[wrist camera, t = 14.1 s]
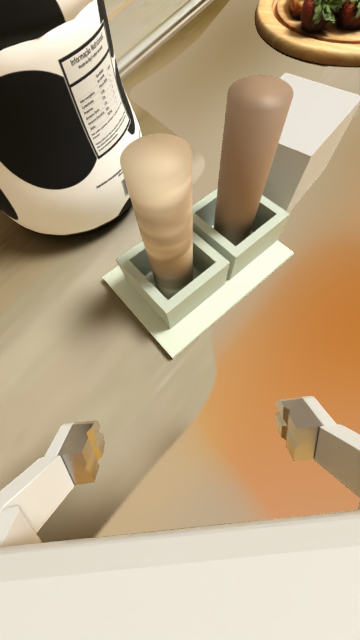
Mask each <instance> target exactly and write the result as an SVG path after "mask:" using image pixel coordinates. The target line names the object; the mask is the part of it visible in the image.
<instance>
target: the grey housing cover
mask: <svg viewBox="0 0 360 640" xmlns="http://www.w3.org/2000/svg"><path fill="white" fill-rule="evenodd" d="M280 79H282V80H284V81H286V82H287V83H288V84H289V85H290V86H291V87H292V89H293V93H294V94H293V98H292V102H291V105H290V108H289V111H288V114H287V118H286V121H285V124H284V127H283V130H282V133H281V137H280V140H279V143H278V146H277V149H276V152H275V156H274V159H273V162H272V165H271V168H270V172H269V175H268V178H267V181H266V184H265V187H264V191H263V194H262V195H263V196H264V197H266V198H267V199H269V200H270V201H272V202H273V203H275V204H276V205H278V206H279V207H281V208H282V209H284V210H285V211H287V212H288V213H289V212H290V211H291V209H292V208H293V207H294V206H295V205H296V203H297V202H298V201H299V199H300V198H301V197H302V196H303V195H304V193H305V192H306V191H307V190H308V189H309V188H310V186H311V185H312V184H313V182H314V181H315V180H316V179H317V178H318V176H320V174H321V173H322V172H323V170H324V169H325V167H326V165H327V164H328V161H329V160H330V158H331V156H332V154H333V152H334V150H335V149H336V147H337V145H338V143H339V141H340V139H341V138H342V136H343V134H344V132H345V130H346V128H347V127H348V124H349V123H350V121H351V119H352V117H353V115H354V114H355V112H356V110H357V108H358V106H359V104H360V95H357V94H354V93H351V92H347V91H344V90H341V89H337V88H334V87H331V86H328V85H324V84H321V83H318V82H315V81H311V80H308V79H304V78H301V77H298V76H295V75H292V74H289V73H285V74H284V75H283V76H282V77H281V78H280Z"/></svg>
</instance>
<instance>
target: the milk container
mask: <svg viewBox="0 0 360 640" xmlns="http://www.w3.org/2000/svg"><path fill="white" fill-rule="evenodd" d="M140 137H142V134H141V131H140V127H139V124H138V121H137V118H136V116H135V113H134V111H133V109H132V107H131V104H130V102H129V100H128V98H127V95H126V93H125V90H124V88H123V85H122V82H121V79H120V76H119V72H118V68H117V63H116V59H115V55H114V50H113V45H112V40H111V34H110V29H109V24H108V19H107V14H106V9H105V5H104V0H0V210H1V211H2V212H3V213H5V214H6V215H7V216H9V217H10V218H11V219H13V220H14V221H15V222H17V223H18V224H20V225H21V226H23V227H25V228H28V229H30V230H33V231H35V232H38V233H41V234H46V235H57V236H68V235H75V234H80V233H85V232H89V231H92V230H95V229H97V228H99V227H101V226H103V225H105V224H107V223H109V222H111V221H113V220H115V219H116V218H117V217H119V216H120V215H121V214H122V213H123V212H124V211H125V210H127V209H128V208H129V207H130V206H131V205H132V202H131V199H130V196H129V192H128V189H127V185H126V182H125V179H124V175H123V172H122V169H121V165H120V157H121V154H122V152H123V150H124V149H125V148H126V147H127V146H128V145H129V144H130V143H131V142H133V141H134V140H136V139H138V138H140Z"/></svg>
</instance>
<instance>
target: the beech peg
mask: <svg viewBox="0 0 360 640" xmlns="http://www.w3.org/2000/svg"><path fill="white" fill-rule="evenodd" d="M120 165H121V169H122V172H123V175H124V179H125V182H126V185H127V189H128V192H129V196H130V199H131V202H132V206H133V209H134V212H135V216H136V219H137V223H138V226H139V229H140V233H141V236H142V239H143V243H144V246H145V249H146V253H147V256H148V260H149V263H150V266H151V270H152V273H153V276H154V280H155V283H156V287H157V289H158V291H159V292H160V293H161V294H162V295H163V296H164V297H166V298H168V299H170V298H172V297H173V296H174V295H175V294H177V293H178V292H179V291H180V290H182V289H183V288H184V287H185V286H187V285H188V284H189V283H190V282H192V281H193V206H192V150H191V148H190V146H189V145H188V143H187V142H186V141H184V140H183V139H181V138H179V137H177V136H174V135H170V134H151V135H146V136H143V137H140V138H138V139H136V140H134V141H133V142H131V143H130V144H129V145H128V146H127V147H126V148H125V149H124V150H123V152H122V154H121V157H120Z"/></svg>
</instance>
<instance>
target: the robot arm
mask: <svg viewBox="0 0 360 640" xmlns="http://www.w3.org/2000/svg"><path fill="white" fill-rule="evenodd" d="M276 407H277V409H278V413H277V414H276V425H277V428H278V431H279V433H280V435H281V437H282V438H284V439H285V440H286V447H287V449H288V451H289V453H290V455H291V457H292V459H293V460H294V461H295V460H308V459H314V460H315V461H316V462H317V463H318V464H320V465H321V466H322V467H323V468H324V469H326V470H327V471H328V472H329V473H330V474H332V475H333V476H334V477H335V478H336V479H338V480H339V481H340V482H341V483H342V484H344V485H345V486H346V487H347V488H349V489H350V490H351V491H352V492H353V493H355V494H356V495H357V496H358V497H359V498H360V435H359V434H357V433H356V432H354V431H352V430H350V429H348V428H346V427H344V426H342V425H337V424H336V423H335V422H334V421H333V419H332V418H331V417H330V416H329V415H328V413H327V412H326V411H325V410H324V409H323V407H322V406H321V405H320V404H319V403H318V401H317V400H316V399H315V398H314V397H313V396H307V397H300V398H291V399H283V400H278V401H277V404H276ZM99 429H100V425H99V422H98V421H87V422H75V423H66V424H63V425H62V426H61V427H60V429H59V431H58V432H57V434H56V436H55V438H54V440H53V441H52V443H51V445H50V447H49V449H48V450H47V452H46V454H45V456H44V457H40V458H39V459H38V460H37V461H36V462H34V463H33V464H32V465H31V466H30V467H28V468H27V469H26V470H25V471H24V472H22V473H21V474H20V475H19V476H18V477H16V478H15V479H14V480H13V481H12V482H11V483H9V484H8V485H7V486H6V487H5V488H3V489H2V490H1V491H0V640H360V503H359V507H358V510H354V511H345V512H335V513H325V514H316V515H307V516H297V517H287V518H277V519H269V520H258V521H248V522H239V523H229V524H219V525H211V526H201V527H191V528H181V529H172V530H162V531H153V532H143V533H133V534H124V535H114V536H105V537H95V538H85V539H75V540H66V541H56V542H46V543H42V541H41V540H40V538H39V537H38V535H37V534H36V533H37V532H38V531H39V530H40V528H41V527H42V526H43V525H44V523H45V522H46V521H47V520H48V518H49V517H50V516H51V515H52V513H53V512H54V511H55V510H56V509H57V507H58V506H59V505H60V504H61V502H62V501H63V500H64V499H65V497H66V496H67V495H68V494H69V492H70V491H71V490H72V489H73V487H74V485H77V484H84V483H91V482H95V479H96V475H97V472H98V469H99V464H98V462H97V461H98V460H99V459H100V458H101V457H102V455H103V452H104V444H105V442H104V436H103V434H102V433H101V432H99Z"/></svg>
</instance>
